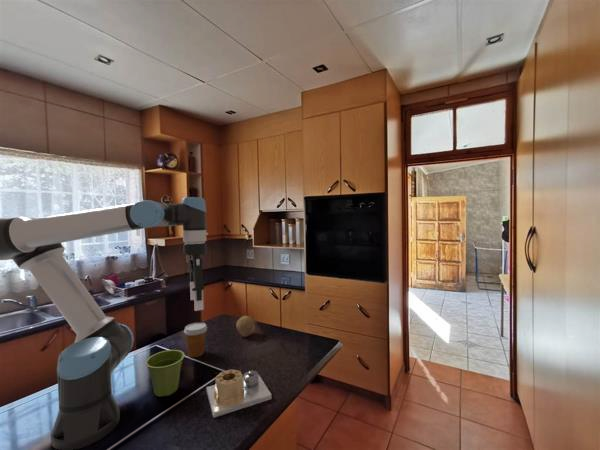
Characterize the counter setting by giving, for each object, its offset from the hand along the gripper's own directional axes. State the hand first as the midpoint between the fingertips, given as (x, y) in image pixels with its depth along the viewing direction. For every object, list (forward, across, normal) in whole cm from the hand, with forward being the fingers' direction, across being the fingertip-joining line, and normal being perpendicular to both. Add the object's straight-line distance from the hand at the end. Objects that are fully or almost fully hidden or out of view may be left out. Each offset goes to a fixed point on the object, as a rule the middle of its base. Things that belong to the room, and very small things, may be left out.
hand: (196, 304), depth 96 cm
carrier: (+29, -11, -11) cm, 33 cm away
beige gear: (+27, -12, -8) cm, 31 cm away
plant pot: (+29, +3, +10) cm, 31 cm away
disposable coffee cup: (+29, +26, -2) cm, 39 cm away
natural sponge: (+29, +34, -26) cm, 52 cm away
